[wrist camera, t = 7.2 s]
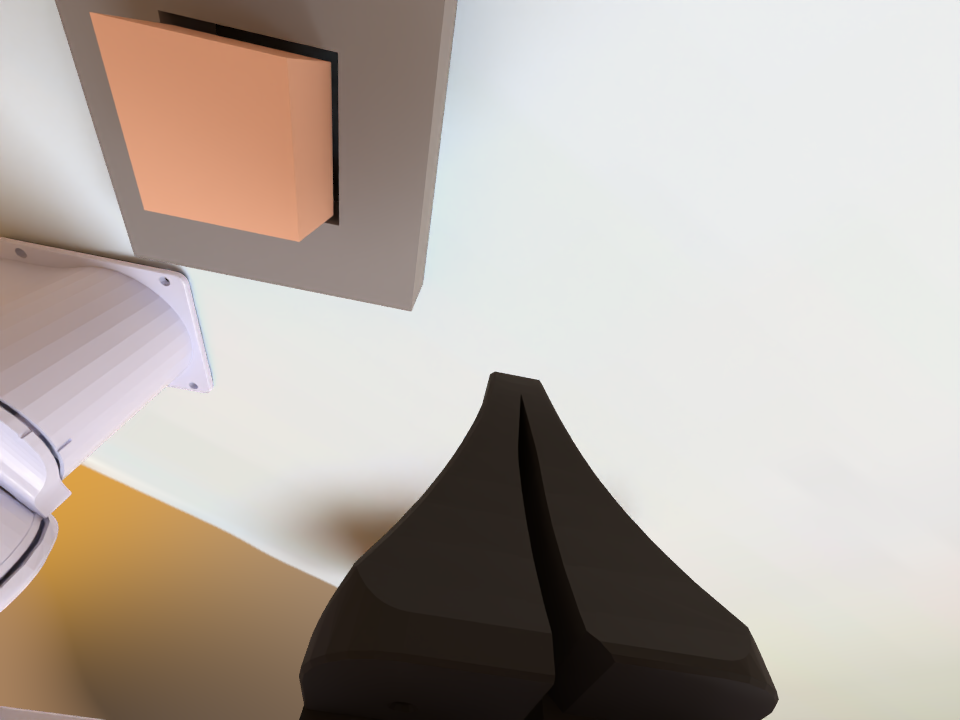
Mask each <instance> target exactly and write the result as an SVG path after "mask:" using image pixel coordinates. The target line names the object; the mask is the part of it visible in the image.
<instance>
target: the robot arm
mask: <svg viewBox="0 0 960 720" xmlns="http://www.w3.org/2000/svg"><path fill="white" fill-rule="evenodd" d="M165 278H167V279H168V280H169V282H168V281H167V280H166V279H165ZM166 386H168V387H174V388H179V389H185V390H190V391H196V392H201V393H209V392H210V391H211V390H212V389H213V388H214V385H213V381H212V377H211V372H210V368H209V364H208V360H207V356H206V352H205V348H204V343H203V339H202V335H201V331H200V327H199V323H198V318H197V314H196V310H195V306H194V302H193V298H192V293H191V289H190V285H189V282H188V279H187V278H186V277H185V276H184V275H183V274H181V273H179V272H175V271H170V270H165V269H160V268H155V267H150V266H145V265H140V264H135V263H130V262H125V261H120V260H115V259H110V258H105V257H100V256H95V255H90V254H85V253H80V252H75V251H70V250H64V249H59V248H54V247H49V246H44V245H39V244H34V243H29V242H24V241H19V240H14V239H9V238H4V237H0V612H1V611H2V610H3V609H4V608H6V607H7V606H8V605H9V604H10V603H11V602H12V601H13V600H14V599H15V598H16V597H17V596H18V595H19V594H20V593H21V592H22V591H23V590H24V589H25V588H26V587H27V586H28V584H29V583H30V582H31V581H32V580H33V578H34V577H35V576H36V575H37V573H38V572H39V570H40V569H41V567H42V566H43V564H44V563H45V561H46V559H47V557H48V555H49V553H50V551H51V550H52V547H53V545H54V543H55V541H56V538H57V534H58V522H57V521H56V519H55V518H54V516H53V515H51V513H52V512H53V511H54V510H55V509H56V508H57V507H58V506H59V505H60V504H62V502H64V501H65V500H66V499H67V498H68V497H69V496H70V495H71V491H69V489H68V488H67V487H66V486H65V485H64V484H63V483H62V480H63V479H64V478H65V477H66V476H68V475H69V474H70V473H71V472H72V471H73V470H74V469H75V468H76V467H77V466H79V465H80V464H81V463H82V462H83V461H84V460H85V459H86V458H88V457H89V456H90V455H91V454H92V453H93V452H94V451H95V450H96V449H98V448H99V447H100V446H101V445H102V444H103V443H104V442H105V441H106V440H108V439H109V438H110V437H111V436H112V435H113V434H114V433H115V432H116V431H118V430H119V429H120V428H121V427H122V426H123V425H124V424H125V423H126V422H128V421H129V420H130V419H131V418H132V417H133V416H134V415H135V414H136V413H138V412H139V411H140V410H141V409H142V408H143V407H144V406H145V405H146V404H148V403H149V402H150V401H151V400H152V399H153V398H154V397H155V396H156V395H158V394H159V393H160V392H161V391H162V390H163V389H164V388H165V387H166ZM299 679H300V683H301V690H302V695H303V701H304V707H303V710H302V713H301V716H300V719H299V720H761V719H763V718H764V717H766V716H767V715H769V714H770V713H772V711H773V709H774V708H775V706H776V704H777V702H778V700H779V699H778V695H777V691H776V689H775V686H774V684H773V682H772V679H771V677H770V675H769V672H768V670H767V668H766V665H765V663H764V661H763V658H762V656H761V654H760V652H759V649H758V647H757V645H756V643H755V641H754V638H753V637H752V635H751V633H750V631H749V628H748V627H747V626H746V625H745V624H743V623H742V622H741V621H740V620H739V619H737V618H736V617H735V616H734V615H733V614H732V613H730V612H729V611H728V610H727V609H726V608H725V607H723V606H722V605H721V604H720V603H719V602H717V601H716V600H715V599H714V598H713V597H712V596H710V595H709V594H708V593H707V592H706V591H705V590H703V589H702V588H701V587H700V586H699V585H698V584H696V583H695V582H694V581H693V580H692V579H691V578H690V577H689V576H688V575H687V574H686V573H685V572H684V571H682V570H681V569H680V568H679V567H678V566H677V565H676V564H675V563H674V562H673V561H672V560H671V559H670V558H669V557H668V556H667V555H666V554H665V553H664V552H663V551H662V550H661V549H660V548H659V547H658V546H657V545H656V544H655V543H654V542H653V541H652V540H651V539H650V538H649V537H648V536H647V535H646V534H645V533H644V532H643V531H642V530H641V529H640V527H639V526H638V525H637V524H636V523H635V522H634V521H633V520H632V519H631V518H630V517H629V516H628V514H627V513H626V512H625V511H624V510H623V509H622V507H621V506H620V505H619V504H618V503H617V502H616V500H615V499H614V498H613V497H612V495H611V494H610V493H609V492H608V490H607V489H606V488H605V487H604V485H603V484H602V483H601V482H600V480H599V479H598V478H597V476H596V475H595V474H594V472H593V471H592V469H591V468H590V466H589V465H588V463H587V462H586V460H585V459H584V458H583V456H582V455H581V453H580V451H579V450H578V448H577V447H576V445H575V444H574V442H573V440H572V439H571V437H570V435H569V434H568V432H567V430H566V428H565V427H564V425H563V423H562V422H561V420H560V418H559V416H558V414H557V413H556V411H555V409H554V407H553V405H552V403H551V401H550V399H549V397H548V395H547V393H546V391H545V390H544V388H543V386H542V384H541V382H540V381H539V380H536V379H531V378H525V377H520V376H515V375H510V374H505V373H499V372H494V373H492V374H490V377H489V381H488V384H487V388H486V392H485V396H484V400H483V403H482V406H481V408H480V411H479V413H478V415H477V417H476V419H475V421H474V423H473V425H472V426H471V428H470V430H469V431H468V433H467V435H466V436H465V438H464V440H463V442H462V443H461V445H460V446H459V448H458V449H457V451H456V452H455V454H454V455H453V457H452V458H451V460H450V461H449V462H448V464H447V465H446V466H445V468H444V469H443V471H442V472H441V473H440V474H439V476H438V477H437V478H436V479H435V481H434V482H433V483H432V484H431V486H430V487H429V488H428V489H427V490H426V492H425V493H424V494H423V495H422V496H421V497H420V499H419V500H418V501H417V502H416V503H415V504H414V505H413V506H412V507H411V508H410V509H409V510H408V512H407V513H406V514H405V515H404V516H403V517H402V518H401V519H400V520H399V521H398V522H397V523H396V524H395V525H394V526H393V527H392V528H391V529H390V530H389V531H388V532H387V533H386V534H385V535H384V536H383V537H382V538H381V539H380V540H379V541H378V542H377V543H376V544H374V545H373V546H372V547H371V548H370V549H369V550H368V551H367V552H366V553H365V554H364V555H363V556H362V557H360V558H359V559H358V560H357V561H356V562H355V563H354V565H353V567H352V568H351V569H350V571H349V572H348V574H347V575H346V577H345V578H344V580H343V581H342V583H341V584H340V586H339V587H338V589H337V590H336V592H335V593H334V595H333V597H332V598H331V600H330V601H329V603H328V605H327V606H326V608H325V610H324V611H323V613H322V615H321V618H320V619H319V621H318V623H317V625H316V628H315V630H314V632H313V634H312V637H311V639H310V642H309V645H308V648H307V651H306V654H305V657H304V660H303V663H302V666H301V670H300V674H299ZM0 720H103V719H94V718H87V717H79V716H72V715H64V714H57V713H49V712H41V711H33V710H25V709H18V708H11V707H2V706H0Z"/></svg>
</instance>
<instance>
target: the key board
mask: <svg viewBox="0 0 960 720" xmlns="http://www.w3.org/2000/svg"><path fill="white" fill-rule="evenodd" d="M457 1H458V0H55V2H56V5H57V8H58V12H59V15H60V18H61V21H62V24H63V28H64V31H65V34H66V37H67V40H68V44H69V47H70V50H71V53H72V56H73V60H74V63H75V66H76V69H77V73H78V76H79V79H80V82H81V85H82V89H83V92H84V95H85V98H86V101H87V105H88V108H89V111H90V114H91V117H92V121H93V124H94V127H95V130H96V134H97V137H98V140H99V143H100V146H101V150H102V153H103V156H104V159H105V162H106V166H107V169H108V172H109V175H110V178H111V182H112V185H113V188H114V191H115V194H116V198H117V201H118V204H119V207H120V211H121V214H122V217H123V220H124V223H125V227H126V230H127V233H128V236H129V239H130V243H131V246H132V249H133V252H134V255H135V256H136V257H141V258H146V259H151V260H156V261H161V262H166V263H171V264H176V265H181V266H186V267H191V268H196V269H201V270H206V271H211V272H216V273H221V274H226V275H231V276H236V277H241V278H246V279H251V280H256V281H261V282H266V283H271V284H276V285H281V286H286V287H291V288H296V289H301V290H306V291H311V292H316V293H321V294H326V295H331V296H336V297H341V298H347V299H352V300H357V301H362V302H367V303H372V304H377V305H382V306H387V307H392V308H397V309H402V310H407V311H412V308H413V306H414V304H415V301H416V299H417V297H418V294H419V292H420V289H421V287H422V285H423V279H424V271H425V263H426V254H427V246H428V238H429V230H430V222H431V213H432V205H433V197H434V189H435V181H436V173H437V164H438V156H439V148H440V140H441V132H442V123H443V115H444V107H445V99H446V91H447V82H448V74H449V66H450V58H451V50H452V42H453V33H454V25H455V17H456V9H457ZM89 12H93V13H100V14H106V15H112V16H119V17H125V18H131V19H138V20H144V21H150V22H157V23H163V24H170V25H175V26H180V27H184V28H188V29H192V30H197V31H201V32H205V33H209V34H214V35H217V31H216V24H219V25H223V26H228V27H232V28H236V29H240V30H244V31H249V32H253V33H257V34H261V35H266V36H270V37H274V38H278V39H282V40H287V41H291V42H295V43H299V44H304V45H308V46H312V47H316V48H321V49H325V50H329V51H333V52H337V53H338V118H339V201H335V200H333V216H332V217H331V218H329V219H328V220H327V221H325V222H324V223H323V224H322V225H320V226H319V227H318V228H316V229H315V230H314V231H313V232H311V233H310V234H309V235H307V236H306V237H305V238H304V239H302V240H301V241H300V242H297V241H292V240H287V239H282V238H278V237H273V236H268V235H263V234H258V233H253V232H248V231H244V230H239V229H234V228H229V227H224V226H219V225H215V224H210V223H205V222H200V221H195V220H190V219H186V218H181V217H176V216H171V215H166V214H161V213H157V212H152V211H147V210H144V207H143V203H142V200H141V196H140V193H139V189H138V185H137V182H136V178H135V175H134V171H133V167H132V164H131V160H130V157H129V153H128V149H127V146H126V142H125V139H124V135H123V131H122V128H121V124H120V121H119V117H118V113H117V110H116V106H115V103H114V99H113V95H112V92H111V88H110V85H109V81H108V78H107V74H106V70H105V67H104V63H103V60H102V56H101V52H100V49H99V45H98V42H97V38H96V34H95V31H94V27H93V24H92V20H91V16H90V13H89Z"/></svg>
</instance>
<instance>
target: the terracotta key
mask: <svg viewBox="0 0 960 720" xmlns="http://www.w3.org/2000/svg"><path fill="white" fill-rule="evenodd" d="M89 13H90V16H91V20H92V24H93V27H94V31H95V34H96V38H97V42H98V45H99V49H100V52H101V56H102V60H103V63H104V67H105V70H106V74H107V78H108V81H109V85H110V88H111V92H112V95H113V99H114V103H115V106H116V110H117V113H118V117H119V121H120V124H121V128H122V131H123V135H124V139H125V142H126V146H127V149H128V153H129V157H130V160H131V164H132V167H133V171H134V175H135V178H136V182H137V185H138V189H139V193H140V196H141V200H142V203H143V207H144V210H147V211H152V212H157V213H161V214H166V215H171V216H176V217H181V218H186V219H190V220H195V221H200V222H205V223H210V224H215V225H219V226H224V227H229V228H234V229H239V230H244V231H248V232H253V233H258V234H263V235H268V236H273V237H278V238H282V239H287V240H292V241H297V242H300V241H301V240H302V239H304V238H305V237H306V236H307V235H309V234H310V233H311V232H313V231H314V230H315V229H316V228H318V227H319V226H320V225H322V224H323V223H324V222H325V221H327V220H328V219H329V218H331V217H332V216H333V157H332V91H331V62H329V61H324V60H320V59H316V58H312V57H307V56H303V55H299V54H295V53H290V52H286V51H282V50H278V49H273V48H269V47H265V46H260V45H256V44H252V43H248V42H243V41H239V40H235V39H231V38H226V37H222V36H218V35H214V34H209V33H205V32H201V31H197V30H192V29H188V28H184V27H180V26H175V25H170V24H163V23H157V22H150V21H144V20H138V19H131V18H125V17H119V16H112V15H106V14H100V13H93V12H89Z"/></svg>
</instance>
